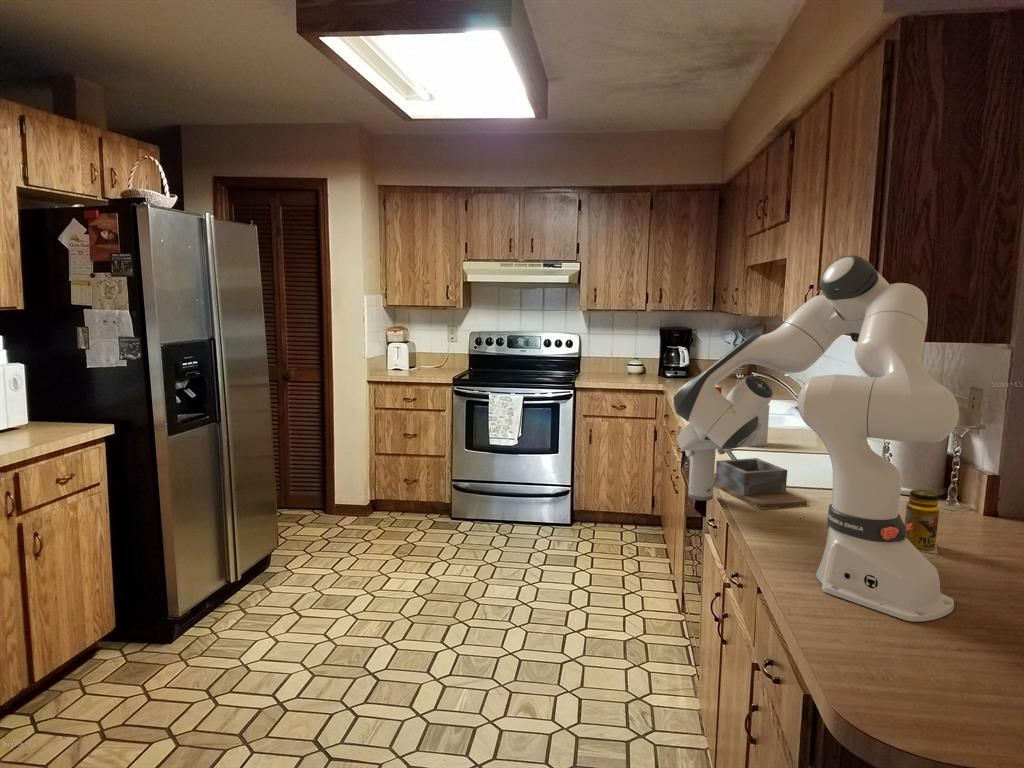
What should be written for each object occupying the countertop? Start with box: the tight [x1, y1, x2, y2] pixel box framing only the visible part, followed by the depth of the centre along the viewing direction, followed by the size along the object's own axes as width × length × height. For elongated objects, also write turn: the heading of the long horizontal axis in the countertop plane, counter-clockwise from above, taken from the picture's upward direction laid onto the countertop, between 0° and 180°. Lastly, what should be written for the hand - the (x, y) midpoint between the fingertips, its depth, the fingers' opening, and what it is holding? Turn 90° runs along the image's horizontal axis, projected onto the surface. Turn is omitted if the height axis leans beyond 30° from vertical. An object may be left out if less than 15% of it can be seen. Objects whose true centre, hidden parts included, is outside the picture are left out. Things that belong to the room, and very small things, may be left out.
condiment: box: [904, 489, 940, 555], centre depth 146 cm, size 7×8×12 cm
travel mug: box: [687, 449, 717, 502], centre depth 176 cm, size 6×7×20 cm
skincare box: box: [745, 404, 770, 448], centre depth 237 cm, size 8×6×15 cm
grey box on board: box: [713, 457, 808, 510], centre depth 183 cm, size 28×14×7 cm, turn 16°
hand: (704, 453), depth 176 cm, fingers open, 8 cm apart
